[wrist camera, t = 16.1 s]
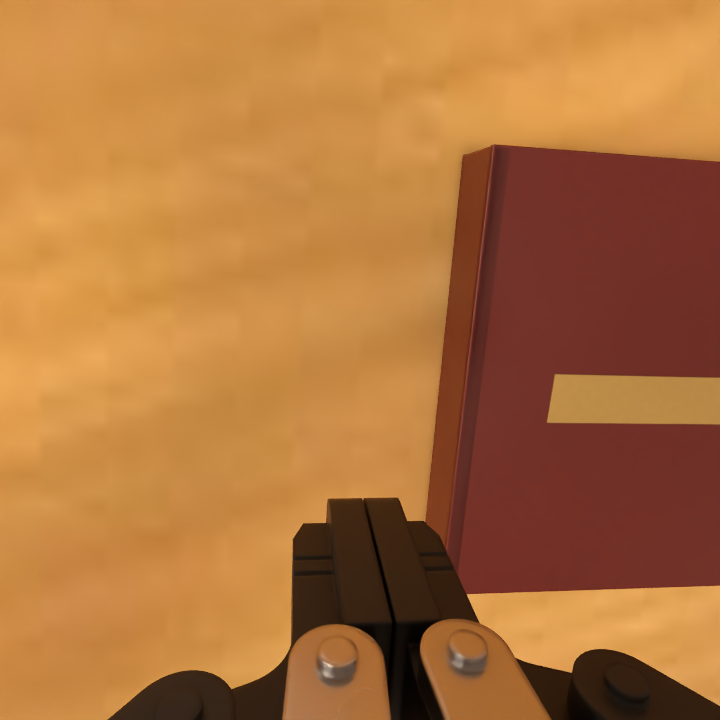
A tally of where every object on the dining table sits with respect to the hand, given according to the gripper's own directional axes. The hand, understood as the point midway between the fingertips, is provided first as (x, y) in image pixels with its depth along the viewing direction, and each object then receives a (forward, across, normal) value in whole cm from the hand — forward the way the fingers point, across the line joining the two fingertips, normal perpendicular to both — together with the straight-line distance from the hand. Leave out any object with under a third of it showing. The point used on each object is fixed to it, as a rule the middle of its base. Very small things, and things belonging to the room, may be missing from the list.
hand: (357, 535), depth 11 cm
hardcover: (+12, -13, 0) cm, 17 cm away
